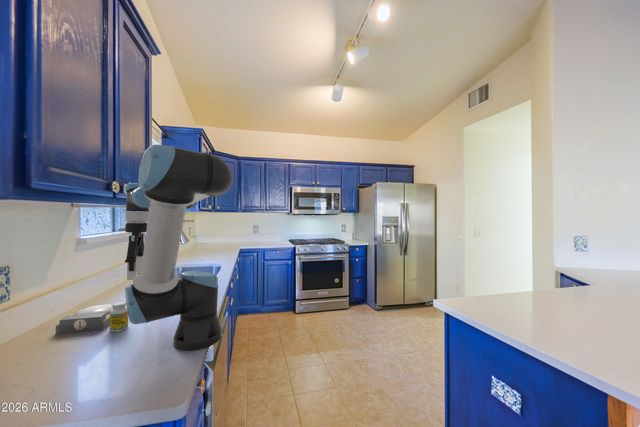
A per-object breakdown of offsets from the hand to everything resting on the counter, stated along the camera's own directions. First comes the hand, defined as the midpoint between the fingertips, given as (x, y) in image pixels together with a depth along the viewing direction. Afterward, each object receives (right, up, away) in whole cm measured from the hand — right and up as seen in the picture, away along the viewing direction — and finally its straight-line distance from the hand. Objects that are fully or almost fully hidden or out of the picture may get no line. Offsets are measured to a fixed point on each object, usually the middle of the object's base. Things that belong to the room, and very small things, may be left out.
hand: (135, 275), depth 101 cm
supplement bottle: (-1, -19, -7) cm, 20 cm away
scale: (-16, -18, -1) cm, 24 cm away
